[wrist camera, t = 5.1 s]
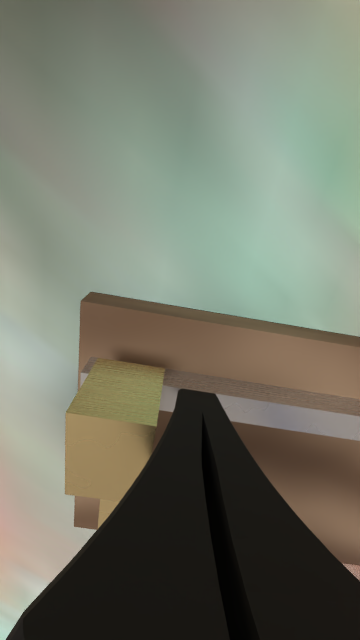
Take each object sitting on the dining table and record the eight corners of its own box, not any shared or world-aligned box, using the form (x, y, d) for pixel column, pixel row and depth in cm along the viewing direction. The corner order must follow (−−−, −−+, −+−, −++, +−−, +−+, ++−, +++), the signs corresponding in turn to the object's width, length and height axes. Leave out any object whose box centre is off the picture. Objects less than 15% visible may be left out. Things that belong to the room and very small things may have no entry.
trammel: (458, 541, 16) (542, 646, 12) (84, 488, 15) (49, 583, 11) (575, 413, 12) (747, 506, 8) (92, 335, 11) (44, 399, 8)
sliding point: (141, 502, 15) (125, 604, 11) (96, 495, 15) (64, 596, 11) (167, 351, 11) (156, 426, 7) (107, 341, 11) (65, 412, 7)
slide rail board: (420, 552, 18) (436, 577, 17) (81, 505, 17) (73, 527, 16) (574, 373, 13) (613, 390, 11) (90, 291, 12) (80, 301, 11)
